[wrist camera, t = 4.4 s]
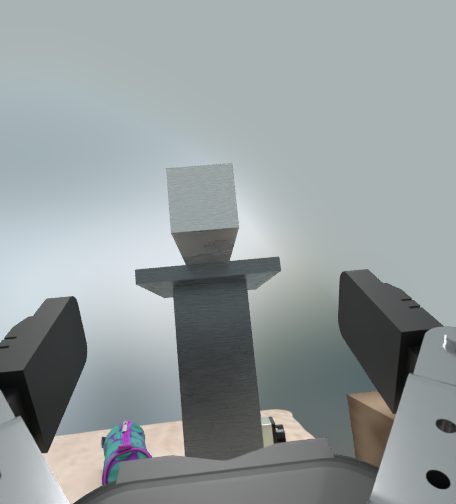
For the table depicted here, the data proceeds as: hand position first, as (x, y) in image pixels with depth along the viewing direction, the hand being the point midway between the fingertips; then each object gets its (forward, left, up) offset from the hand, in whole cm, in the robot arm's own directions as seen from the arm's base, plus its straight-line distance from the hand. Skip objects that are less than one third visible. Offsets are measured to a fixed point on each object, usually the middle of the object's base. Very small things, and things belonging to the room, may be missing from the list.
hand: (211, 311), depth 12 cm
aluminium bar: (+9, +15, +4) cm, 18 cm away
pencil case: (+18, +68, -29) cm, 76 cm away
